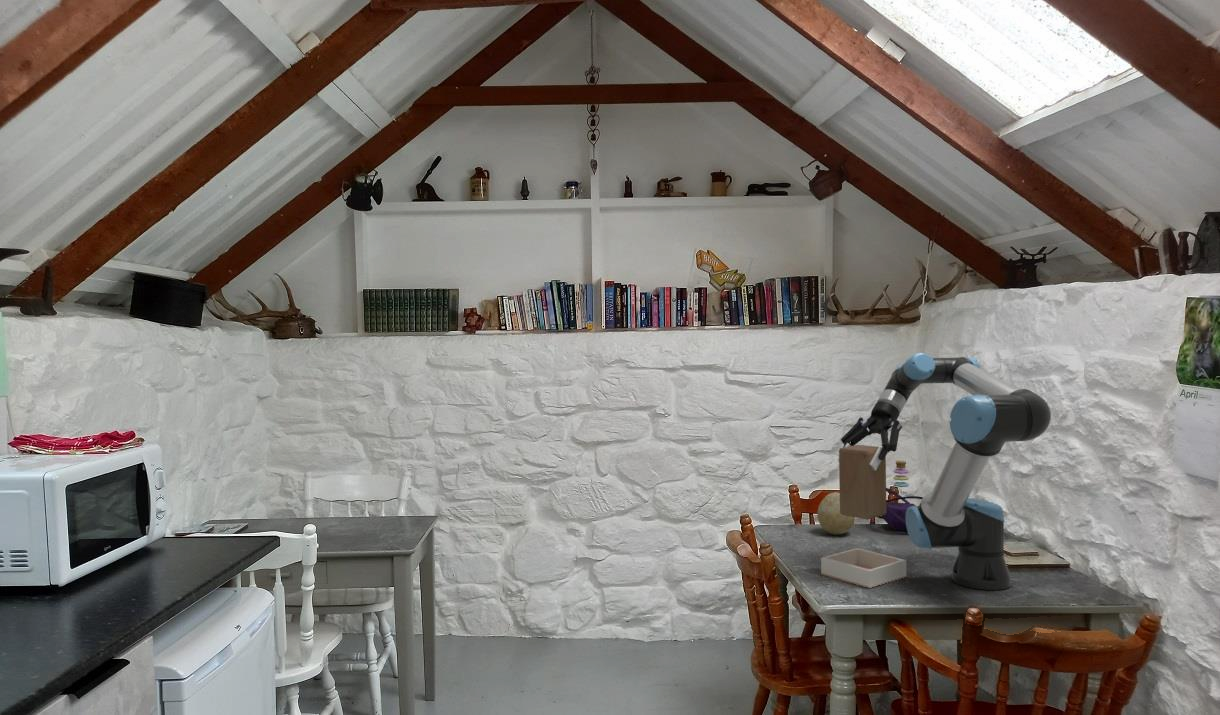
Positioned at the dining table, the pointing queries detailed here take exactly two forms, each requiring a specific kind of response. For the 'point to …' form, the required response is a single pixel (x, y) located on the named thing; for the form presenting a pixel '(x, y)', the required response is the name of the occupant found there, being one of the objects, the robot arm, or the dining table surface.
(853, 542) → the dining table surface
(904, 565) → the shallow white tray
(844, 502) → the wooden block
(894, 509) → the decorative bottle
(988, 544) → the robot arm
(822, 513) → the speckled cream ball
